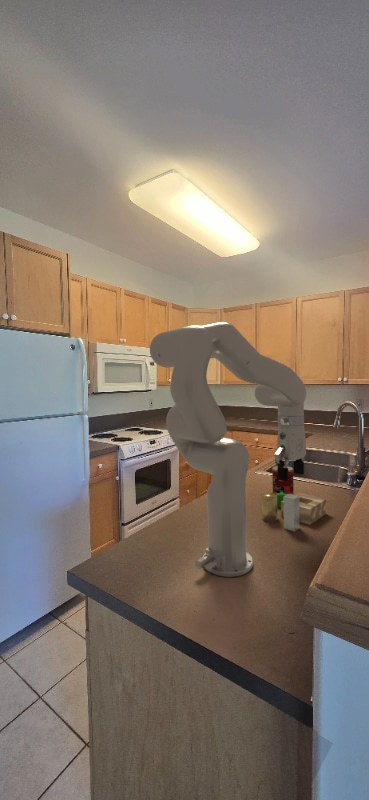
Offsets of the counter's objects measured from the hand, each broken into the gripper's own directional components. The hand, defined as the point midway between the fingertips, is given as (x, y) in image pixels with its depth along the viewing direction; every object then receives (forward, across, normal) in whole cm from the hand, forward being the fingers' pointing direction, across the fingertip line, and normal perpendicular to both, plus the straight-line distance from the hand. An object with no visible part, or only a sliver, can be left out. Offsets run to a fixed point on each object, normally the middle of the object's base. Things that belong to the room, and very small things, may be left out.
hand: (291, 477), depth 101 cm
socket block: (+16, +12, +2) cm, 20 cm away
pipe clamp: (+16, +14, +13) cm, 25 cm away
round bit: (+16, +2, +9) cm, 18 cm away
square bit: (+16, 0, 0) cm, 16 cm away
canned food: (+16, +25, +17) cm, 34 cm away
